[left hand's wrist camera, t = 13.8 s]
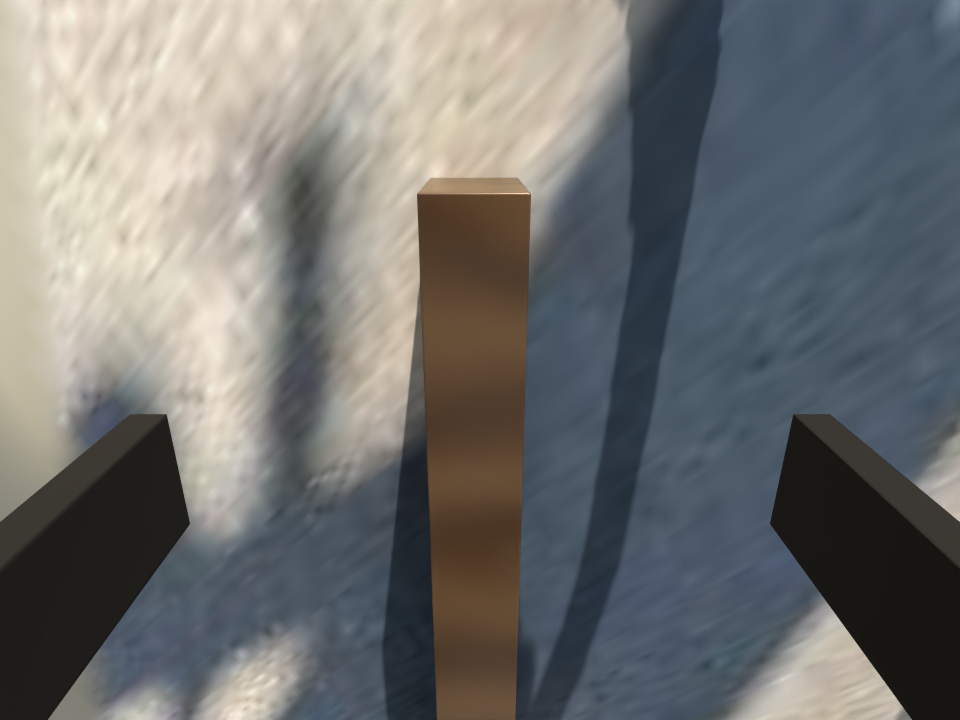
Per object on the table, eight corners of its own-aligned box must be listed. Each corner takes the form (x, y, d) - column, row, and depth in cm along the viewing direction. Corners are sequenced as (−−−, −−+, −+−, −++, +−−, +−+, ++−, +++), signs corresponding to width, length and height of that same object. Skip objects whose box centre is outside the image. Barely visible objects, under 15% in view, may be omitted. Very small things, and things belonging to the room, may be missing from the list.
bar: (430, 177, 34) (416, 193, 26) (518, 177, 34) (531, 192, 26) (448, 810, 54) (444, 925, 46) (504, 809, 54) (509, 925, 46)
